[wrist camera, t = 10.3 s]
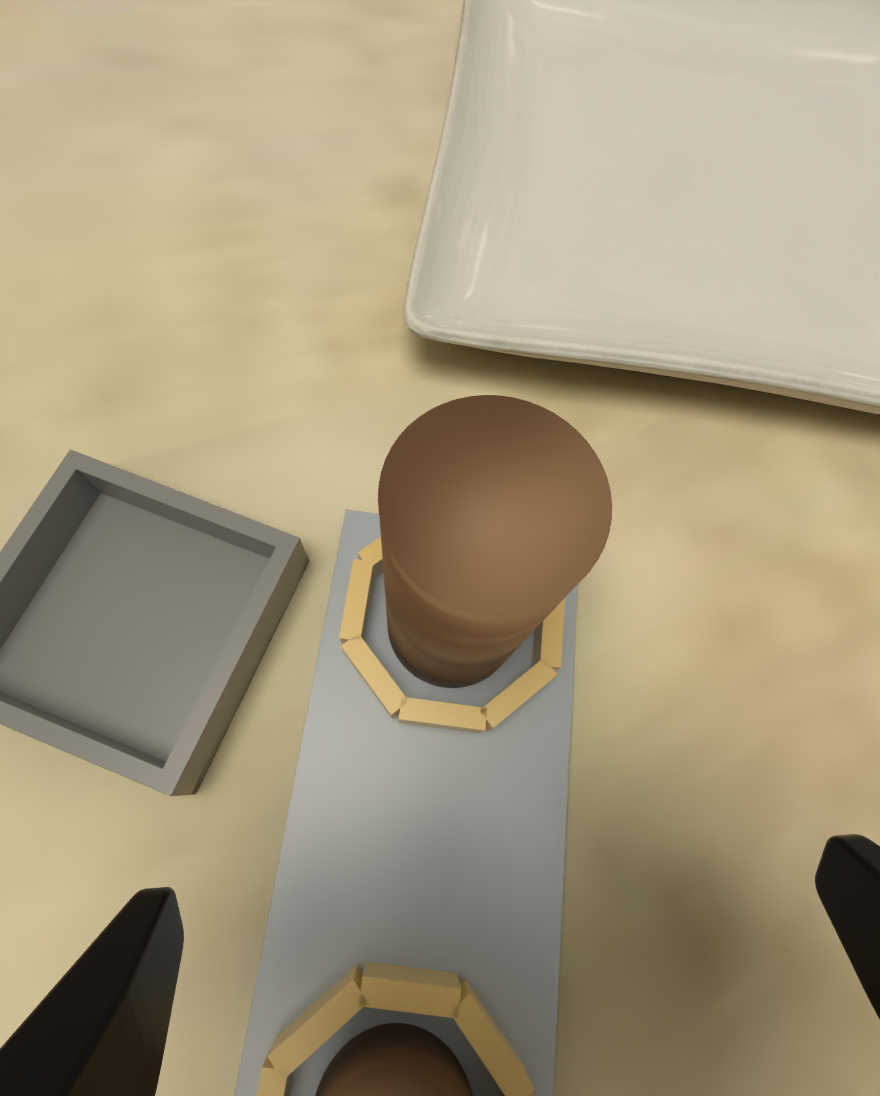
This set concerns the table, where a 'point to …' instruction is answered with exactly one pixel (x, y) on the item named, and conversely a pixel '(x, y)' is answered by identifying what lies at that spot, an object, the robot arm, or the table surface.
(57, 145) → the table surface
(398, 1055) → the cylinder
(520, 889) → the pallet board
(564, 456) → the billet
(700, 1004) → the table surface
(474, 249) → the square plate
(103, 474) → the gray square tray
